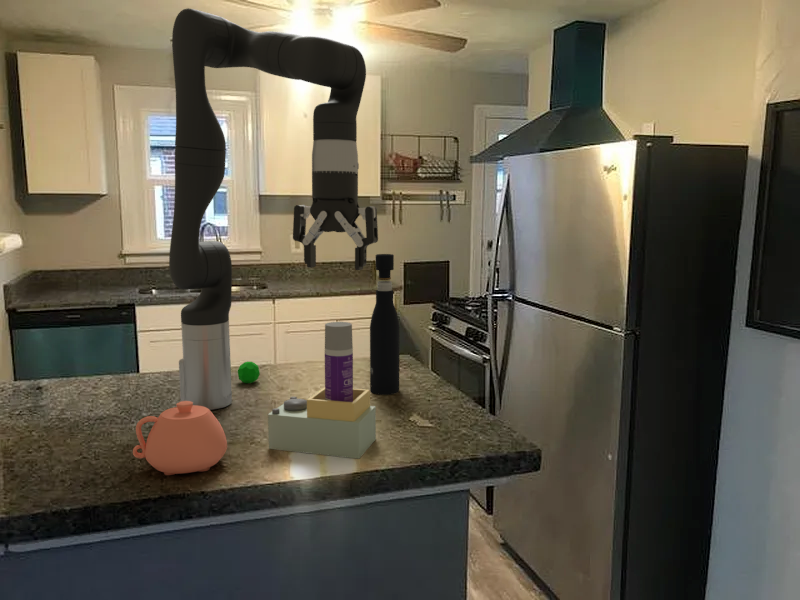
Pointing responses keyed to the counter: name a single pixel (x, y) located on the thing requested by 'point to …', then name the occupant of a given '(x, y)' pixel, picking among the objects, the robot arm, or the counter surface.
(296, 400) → the grey-green box with tray
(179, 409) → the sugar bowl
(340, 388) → the container
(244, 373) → the polyhedron
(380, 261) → the wine bottle
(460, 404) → the counter surface
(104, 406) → the counter surface
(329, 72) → the robot arm
